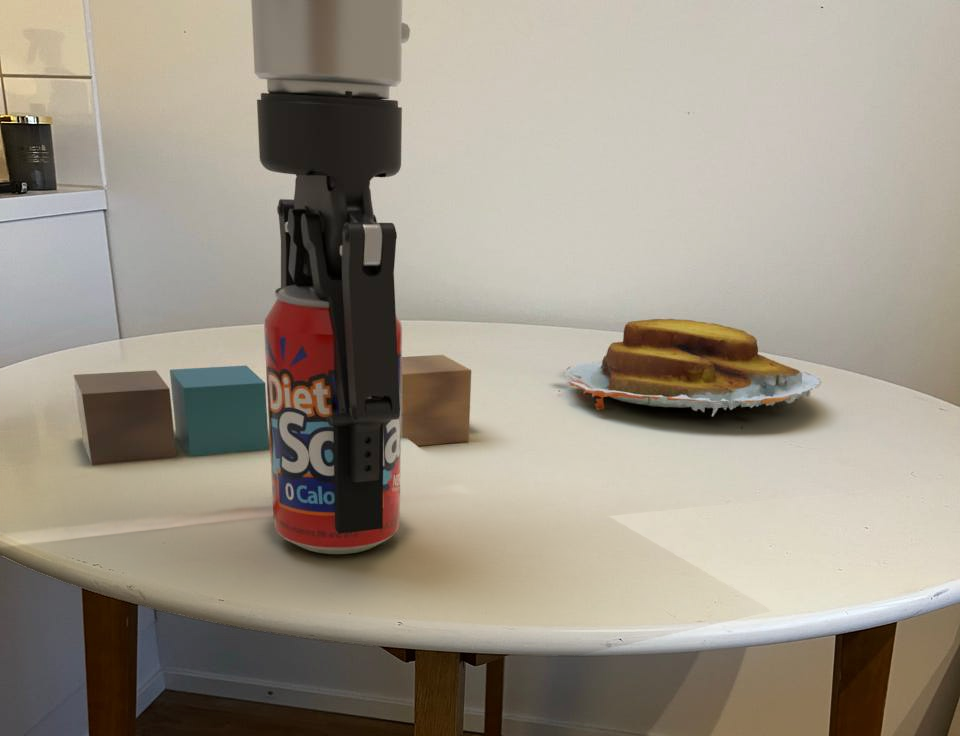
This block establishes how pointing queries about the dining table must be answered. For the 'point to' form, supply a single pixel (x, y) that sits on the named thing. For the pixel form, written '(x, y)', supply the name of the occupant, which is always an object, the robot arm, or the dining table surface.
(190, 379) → the teal block
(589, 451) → the dining table surface
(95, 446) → the walnut block
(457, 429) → the oak block
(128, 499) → the dining table surface
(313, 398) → the soda can
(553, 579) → the dining table surface
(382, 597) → the dining table surface
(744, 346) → the food on plate
